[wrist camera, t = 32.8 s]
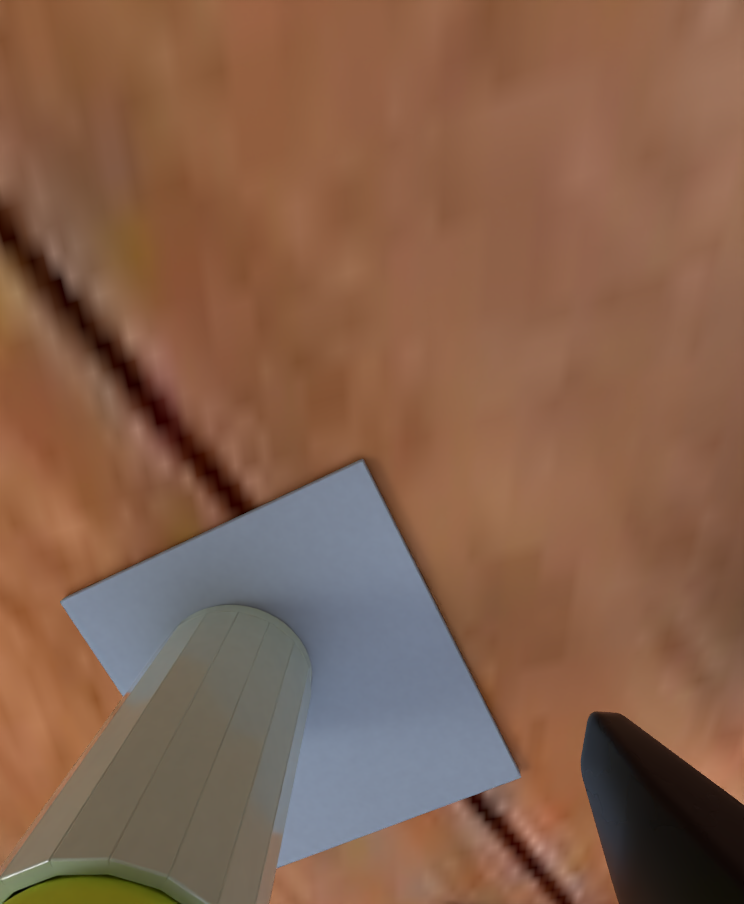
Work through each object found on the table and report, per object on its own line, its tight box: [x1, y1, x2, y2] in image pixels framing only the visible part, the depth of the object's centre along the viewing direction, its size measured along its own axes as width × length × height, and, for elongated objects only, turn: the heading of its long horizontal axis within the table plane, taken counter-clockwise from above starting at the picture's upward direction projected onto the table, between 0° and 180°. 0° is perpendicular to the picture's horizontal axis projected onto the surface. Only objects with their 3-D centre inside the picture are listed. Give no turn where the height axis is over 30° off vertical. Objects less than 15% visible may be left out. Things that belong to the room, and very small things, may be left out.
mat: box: [60, 459, 521, 868], centre depth 22 cm, size 16×14×1 cm
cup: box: [0, 605, 312, 904], centre depth 17 cm, size 6×6×10 cm
